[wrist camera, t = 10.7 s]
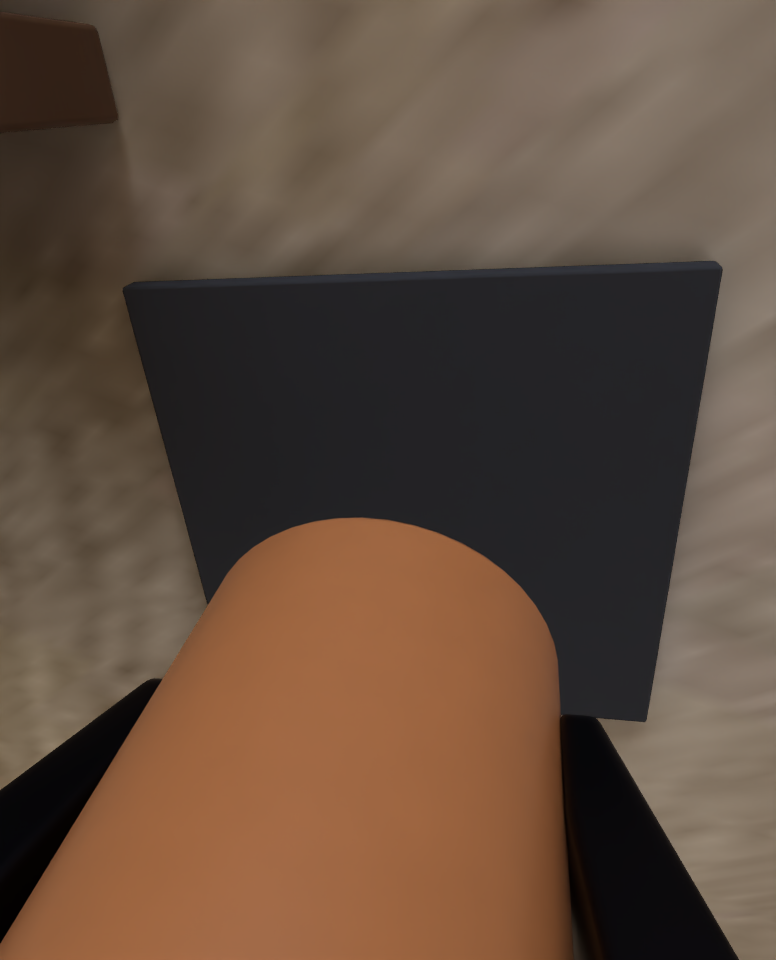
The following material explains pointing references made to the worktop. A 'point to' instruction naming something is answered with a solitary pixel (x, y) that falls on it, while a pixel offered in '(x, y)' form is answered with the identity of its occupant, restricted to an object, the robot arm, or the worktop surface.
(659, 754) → the worktop surface
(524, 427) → the black rubber mat
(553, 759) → the copper tin
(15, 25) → the walnut shelf
